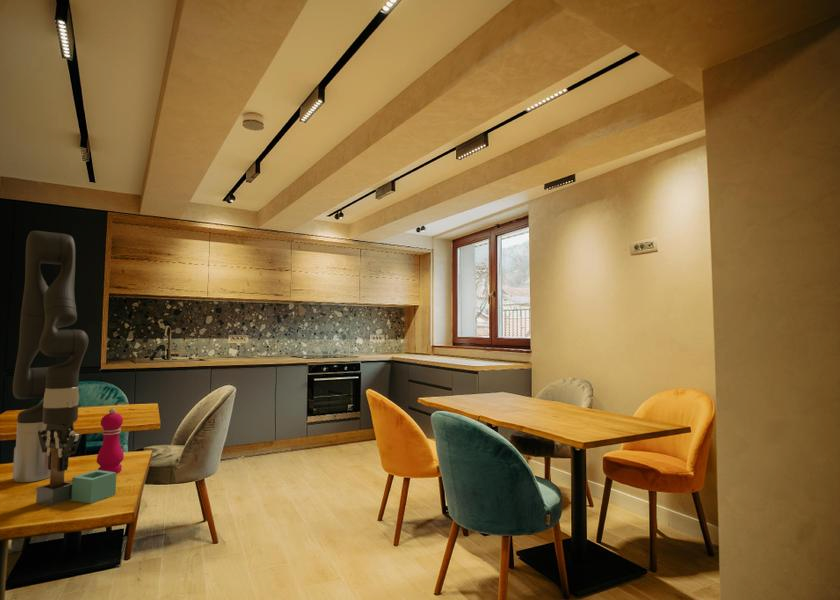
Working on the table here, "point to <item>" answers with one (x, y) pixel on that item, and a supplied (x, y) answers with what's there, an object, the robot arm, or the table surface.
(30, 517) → the table surface
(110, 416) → the pepper mill
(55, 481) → the pin
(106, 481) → the socket
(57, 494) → the mount
